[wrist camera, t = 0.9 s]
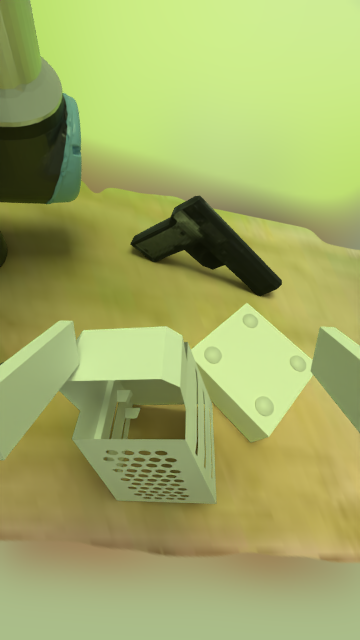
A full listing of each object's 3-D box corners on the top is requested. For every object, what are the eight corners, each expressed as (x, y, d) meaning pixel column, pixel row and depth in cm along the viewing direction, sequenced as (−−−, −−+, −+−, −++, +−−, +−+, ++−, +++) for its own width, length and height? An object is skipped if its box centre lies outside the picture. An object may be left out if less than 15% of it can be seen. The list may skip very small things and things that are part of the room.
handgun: (219, 314, 57) (281, 287, 47) (130, 244, 47) (184, 187, 36) (221, 306, 59) (281, 277, 48) (134, 236, 48) (187, 179, 38)
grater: (216, 503, 26) (209, 447, 11) (117, 500, 28) (-7, 445, 13) (212, 404, 33) (204, 287, 18) (132, 405, 34) (64, 296, 20)
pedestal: (179, 367, 39) (187, 351, 34) (235, 319, 46) (247, 301, 41) (250, 442, 35) (270, 436, 30) (299, 377, 42) (320, 365, 38)
